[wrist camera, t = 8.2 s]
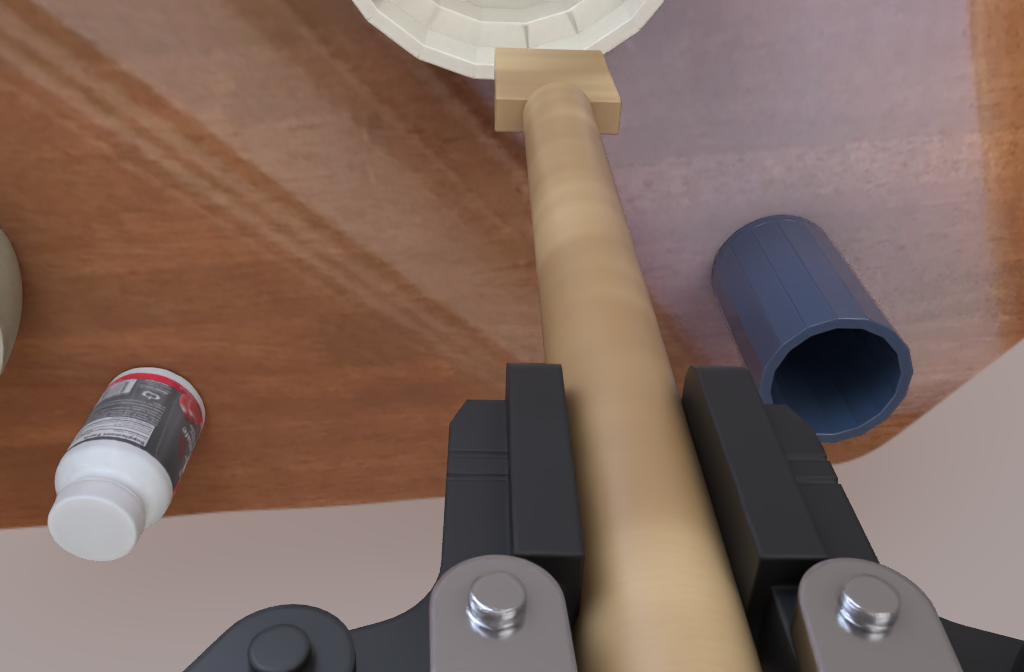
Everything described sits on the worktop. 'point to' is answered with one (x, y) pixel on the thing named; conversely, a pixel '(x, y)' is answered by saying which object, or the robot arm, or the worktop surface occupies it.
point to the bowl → (503, 27)
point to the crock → (809, 328)
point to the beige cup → (9, 299)
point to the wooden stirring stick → (617, 391)
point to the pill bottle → (125, 463)
